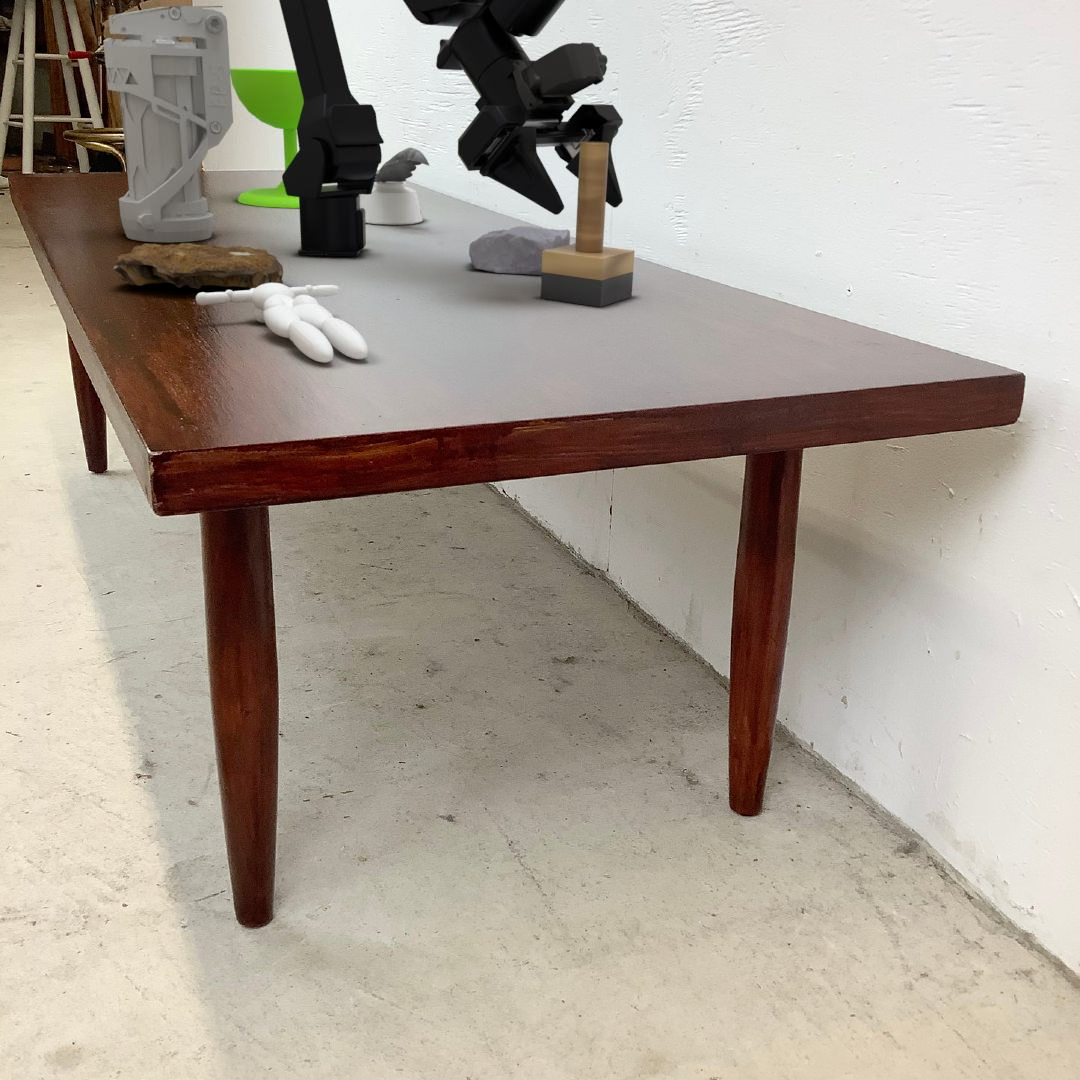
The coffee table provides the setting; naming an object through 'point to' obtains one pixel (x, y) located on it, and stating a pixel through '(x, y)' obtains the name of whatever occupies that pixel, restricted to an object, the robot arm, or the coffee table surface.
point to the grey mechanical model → (169, 115)
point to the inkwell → (394, 191)
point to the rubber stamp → (589, 244)
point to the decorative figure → (297, 318)
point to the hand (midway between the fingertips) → (590, 208)
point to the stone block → (515, 249)
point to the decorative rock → (198, 266)
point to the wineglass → (272, 120)
